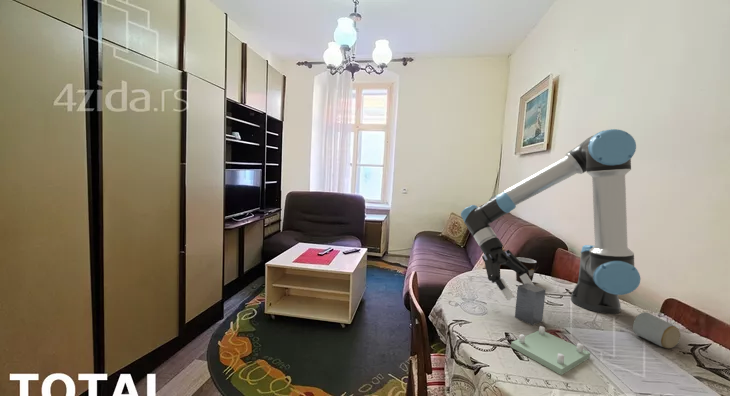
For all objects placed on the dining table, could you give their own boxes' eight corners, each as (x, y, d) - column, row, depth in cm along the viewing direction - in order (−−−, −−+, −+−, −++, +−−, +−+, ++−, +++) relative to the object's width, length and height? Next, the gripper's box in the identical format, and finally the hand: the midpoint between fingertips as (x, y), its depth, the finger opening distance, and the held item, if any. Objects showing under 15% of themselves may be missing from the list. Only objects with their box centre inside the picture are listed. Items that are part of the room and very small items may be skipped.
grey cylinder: (662, 351, 85) (666, 325, 84) (630, 336, 93) (634, 312, 92) (688, 348, 87) (692, 323, 87) (655, 333, 95) (658, 310, 95)
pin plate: (540, 334, 91) (541, 323, 91) (589, 357, 80) (591, 345, 80) (510, 347, 83) (512, 335, 83) (561, 375, 72) (562, 361, 72)
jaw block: (524, 313, 105) (527, 283, 104) (542, 321, 100) (545, 289, 99) (514, 317, 102) (517, 285, 101) (532, 325, 97) (535, 292, 96)
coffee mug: (517, 283, 135) (519, 261, 135) (511, 277, 144) (512, 256, 143) (544, 286, 134) (547, 264, 133) (537, 279, 142) (539, 259, 141)
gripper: (501, 244, 122) (534, 293, 111) (459, 249, 109) (491, 306, 98) (515, 234, 117) (551, 284, 106) (472, 238, 104) (508, 296, 93)
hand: (522, 295), depth 102 cm, fingers open, 13 cm apart
